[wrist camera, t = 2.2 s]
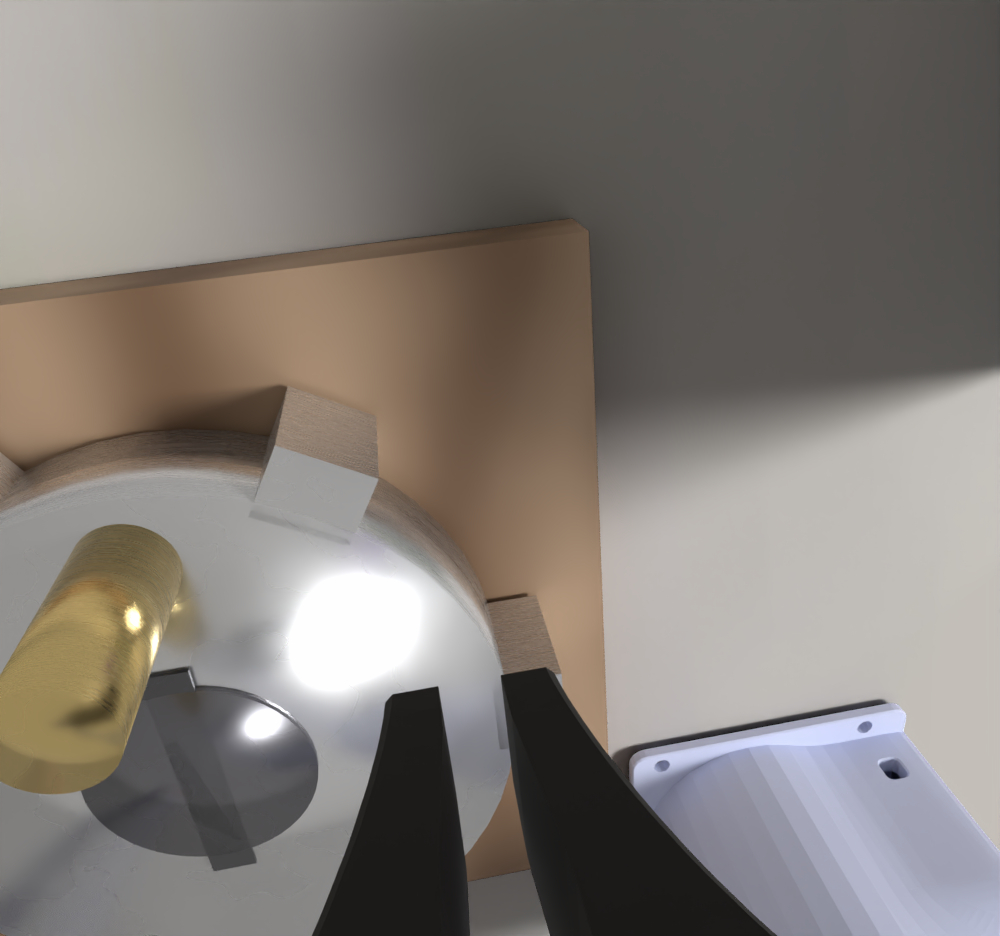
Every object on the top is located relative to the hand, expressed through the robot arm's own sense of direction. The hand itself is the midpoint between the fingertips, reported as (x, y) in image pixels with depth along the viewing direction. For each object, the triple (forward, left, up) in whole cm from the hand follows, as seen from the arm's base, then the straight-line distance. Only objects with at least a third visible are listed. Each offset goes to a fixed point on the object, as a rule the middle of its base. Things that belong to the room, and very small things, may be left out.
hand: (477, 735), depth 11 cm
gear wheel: (+6, +5, -9) cm, 12 cm away
